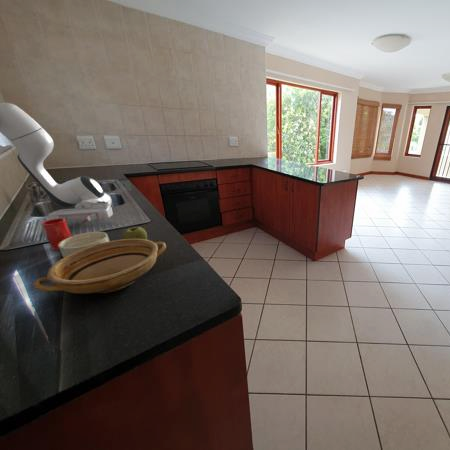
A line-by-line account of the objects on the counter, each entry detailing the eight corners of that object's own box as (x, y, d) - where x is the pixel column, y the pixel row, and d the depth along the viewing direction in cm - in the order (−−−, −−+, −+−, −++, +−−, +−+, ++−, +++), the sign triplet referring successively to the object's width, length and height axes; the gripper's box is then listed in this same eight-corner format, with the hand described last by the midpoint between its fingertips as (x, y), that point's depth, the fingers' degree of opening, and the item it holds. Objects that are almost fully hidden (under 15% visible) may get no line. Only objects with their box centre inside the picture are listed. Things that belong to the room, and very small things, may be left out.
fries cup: (48, 251, 84) (36, 225, 80) (59, 243, 90) (48, 219, 86) (69, 249, 86) (58, 223, 82) (78, 241, 91) (68, 217, 87)
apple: (124, 253, 84) (118, 235, 81) (127, 244, 90) (122, 226, 87) (148, 248, 87) (144, 231, 84) (150, 240, 93) (145, 223, 91)
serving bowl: (53, 262, 77) (48, 250, 76) (75, 244, 89) (71, 233, 87) (101, 257, 81) (97, 245, 79) (116, 240, 93) (113, 230, 91)
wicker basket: (51, 333, 51) (35, 304, 48) (39, 287, 66) (27, 262, 63) (185, 274, 72) (181, 251, 69) (154, 249, 87) (149, 229, 83)
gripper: (57, 204, 101) (35, 215, 89) (113, 201, 107) (99, 211, 95) (62, 218, 104) (42, 230, 92) (117, 214, 110) (104, 225, 98)
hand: (72, 220), depth 94 cm, fingers open, 8 cm apart
